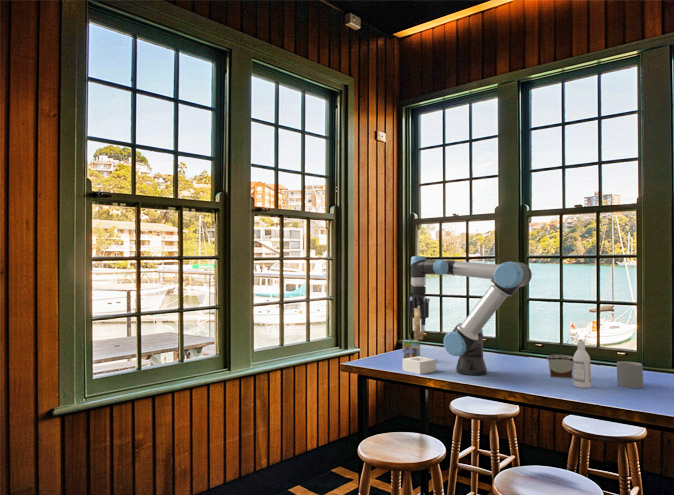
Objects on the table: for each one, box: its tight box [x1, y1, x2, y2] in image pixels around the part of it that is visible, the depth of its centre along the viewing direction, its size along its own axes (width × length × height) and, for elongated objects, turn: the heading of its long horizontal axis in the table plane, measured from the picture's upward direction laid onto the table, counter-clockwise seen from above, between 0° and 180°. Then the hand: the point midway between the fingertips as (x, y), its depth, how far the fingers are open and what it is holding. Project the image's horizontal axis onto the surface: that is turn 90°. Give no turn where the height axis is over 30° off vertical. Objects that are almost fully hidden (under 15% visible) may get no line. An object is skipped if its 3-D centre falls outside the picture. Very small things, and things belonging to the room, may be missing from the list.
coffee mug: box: [616, 360, 644, 390], centre depth 217 cm, size 13×10×10 cm
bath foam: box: [572, 340, 592, 389], centre depth 215 cm, size 7×7×20 cm
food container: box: [547, 354, 573, 379], centre depth 236 cm, size 12×6×10 cm, turn 74°
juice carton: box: [402, 334, 421, 360], centre depth 279 cm, size 9×9×15 cm
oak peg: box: [413, 307, 424, 341], centre depth 250 cm, size 4×4×16 cm
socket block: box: [402, 356, 437, 375], centre depth 249 cm, size 12×12×6 cm
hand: (418, 330), depth 250 cm, fingers closed on oak peg, 4 cm apart
